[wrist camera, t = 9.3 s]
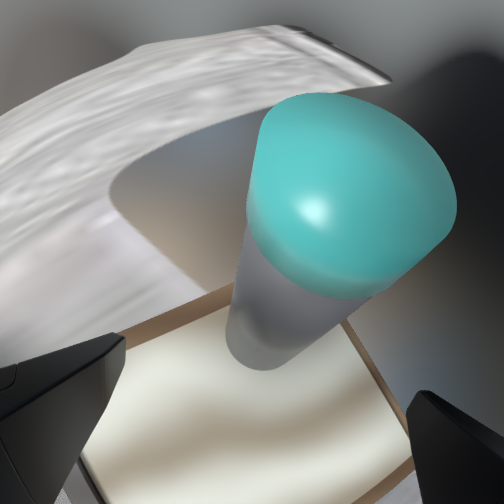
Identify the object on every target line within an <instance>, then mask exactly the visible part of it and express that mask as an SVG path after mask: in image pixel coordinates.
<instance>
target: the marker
mask: <svg viewBox="0 0 504 504" xmlns="http://www.w3.org/2000/svg"><path fill="white" fill-rule="evenodd" d="M456 211H457V201H456V193H455V190H454V185H453V183H452V180H451V178H450V175H449V173H448V171H447V169H446V167H445V165H444V164H443V162H442V160H441V159H440V157H439V156H438V154H437V153H436V152H435V151H434V149H433V148H432V147H431V146H430V145H429V143H428V142H427V141H426V140H425V139H424V138H423V137H422V136H421V135H420V134H419V133H418V132H416V131H415V130H414V129H413V128H411V127H410V126H409V125H408V124H406V123H405V122H404V121H402V120H401V119H399V118H398V117H396V116H395V115H393V114H391V113H390V112H388V111H386V110H384V109H382V108H380V107H378V106H375V105H373V104H371V103H369V102H366V101H363V100H360V99H357V98H353V97H350V96H345V95H340V94H333V93H306V94H301V95H296V96H293V97H290V98H287V99H285V100H283V101H281V102H280V103H278V104H277V105H275V106H274V107H273V108H272V109H271V110H270V111H269V112H268V113H267V115H266V116H265V118H264V119H263V122H262V124H261V127H260V131H259V136H258V142H257V147H256V153H255V157H254V163H253V168H252V174H251V179H250V185H249V190H248V195H247V203H246V213H247V223H246V228H245V233H244V238H243V243H242V248H241V253H240V259H239V263H238V268H237V273H236V279H235V284H234V289H233V294H232V299H231V304H230V310H229V315H228V320H227V325H226V332H225V334H226V343H227V346H228V348H229V350H230V352H231V354H232V355H233V356H234V358H235V359H236V360H237V361H238V362H240V363H241V364H242V365H244V366H246V367H248V368H251V369H254V370H260V371H268V370H273V369H276V368H278V367H280V366H282V365H284V364H285V363H287V362H288V361H289V360H291V359H292V358H294V357H295V356H296V355H298V354H299V353H301V352H302V351H303V350H305V349H306V348H307V347H309V346H310V345H312V344H313V343H314V342H316V341H317V340H318V339H320V338H321V337H322V336H323V335H325V334H326V333H327V332H329V331H330V330H331V329H333V328H334V327H335V326H336V325H338V324H339V323H340V322H342V321H343V320H344V319H345V318H347V317H348V316H349V315H350V314H351V313H353V312H354V311H355V310H356V309H358V308H359V307H360V306H361V305H363V304H364V303H365V302H366V301H367V300H369V299H370V298H371V297H372V296H373V295H376V294H379V293H381V292H383V291H384V290H386V289H388V288H389V287H390V286H391V285H392V284H394V283H395V282H396V281H397V280H399V279H400V278H401V277H402V276H403V275H404V274H406V273H407V272H408V271H409V270H410V269H411V268H412V267H414V266H415V265H416V264H417V263H418V262H419V261H420V260H421V259H423V258H424V257H425V256H426V255H427V254H428V253H429V252H430V251H431V250H432V249H433V248H434V247H436V246H437V245H438V244H439V243H440V242H441V241H442V240H443V239H444V238H445V237H446V236H447V235H448V233H449V232H450V230H451V229H452V226H453V224H454V222H455V217H456Z"/></svg>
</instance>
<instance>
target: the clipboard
mask: <svg viewBox="0 0 504 504" xmlns="http://www.w3.org/2000/svg"><path fill="white" fill-rule="evenodd" d="M234 284H235V282H234V283H231V284H229V285H227V286H225V287H222V288H220V289H218V290H216V291H213V292H211V293H209V294H207V295H204V296H202V297H200V298H197V299H195V300H193V301H191V302H188V303H186V304H184V305H181V306H179V307H177V308H175V309H172V310H170V311H168V312H165V313H163V314H161V315H158V316H156V317H154V318H151V319H149V320H147V321H144V322H142V323H140V324H137V325H135V326H133V327H130V328H128V329H126V330H123V331H121V332H119V333H117V334H120V335H123V336H125V338H126V360H125V365H124V368H123V370H122V373H121V375H120V377H119V380H118V382H117V384H116V387H115V389H114V391H113V394H112V396H111V399H110V401H109V403H108V405H107V408H106V409H105V411H104V413H103V415H102V417H101V418H100V420H99V422H98V424H97V425H96V427H95V429H94V431H93V432H92V434H91V436H90V438H89V439H88V441H87V443H86V445H85V447H84V448H83V450H82V452H81V454H80V456H79V457H78V459H77V461H76V463H75V465H74V467H73V468H72V470H71V472H70V474H69V476H68V478H67V479H66V481H65V483H64V485H63V489H64V491H65V492H66V494H67V496H68V498H69V500H70V501H71V503H72V504H374V503H375V502H376V501H378V500H379V499H380V498H382V497H383V496H384V495H385V494H387V493H388V492H389V491H390V490H391V489H393V488H394V487H395V486H396V485H397V484H399V483H400V482H401V481H402V480H403V479H404V478H406V477H407V476H408V475H409V474H410V473H411V472H412V471H413V470H414V469H415V466H414V462H413V458H412V453H411V447H410V440H409V433H408V427H407V420H406V417H405V416H404V414H403V412H402V410H401V408H400V407H399V405H398V403H397V402H396V400H395V398H394V396H393V395H392V393H391V391H390V390H389V388H388V386H387V385H386V383H385V381H384V379H383V378H382V376H381V374H380V373H379V371H378V369H377V368H376V366H375V365H374V363H373V361H372V360H371V358H370V356H369V355H368V353H367V351H366V350H365V348H364V346H363V345H362V343H361V342H360V340H359V338H358V337H357V335H356V334H355V332H354V330H353V329H352V327H351V326H350V324H349V322H348V321H347V319H346V318H345V319H344V320H343V321H342V322H340V323H339V324H338V325H336V326H335V327H334V328H333V329H331V330H330V331H329V332H327V333H326V334H325V335H323V336H322V337H321V338H320V339H318V340H317V341H316V342H314V343H313V344H312V345H310V346H309V347H307V348H306V349H305V350H303V351H302V352H301V353H299V354H298V355H296V356H295V357H294V358H292V359H291V360H289V361H288V362H287V363H285V364H284V365H282V366H280V367H278V368H276V369H273V370H268V371H260V370H254V369H251V368H248V367H246V366H244V365H242V364H241V363H240V362H238V361H237V360H236V359H235V358H234V356H233V355H232V354H231V352H230V350H229V348H228V346H227V343H226V334H225V332H226V325H227V320H228V315H229V310H230V304H231V299H232V294H233V289H234Z"/></svg>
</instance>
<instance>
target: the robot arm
mask: <svg viewBox="0 0 504 504" xmlns="http://www.w3.org/2000/svg"><path fill="white" fill-rule="evenodd" d="M125 360H126V338H125V336H123V335H120V334H117V333H114V332H112V333H108V334H105V335H102V336H100V337H97V338H94V339H91V340H88V341H85V342H82V343H79V344H76V345H73V346H70V347H67V348H63V349H60V350H57V351H54V352H51V353H48V354H45V355H42V356H39V357H36V358H32V359H29V360H26V361H23V362H20V363H18V364H13V365H10V366H7V367H3V368H0V504H54V502H55V500H56V498H57V497H58V495H59V493H60V491H61V489H62V487H63V485H64V483H65V481H66V479H67V478H68V476H69V474H70V472H71V470H72V468H73V467H74V465H75V463H76V461H77V459H78V457H79V456H80V454H81V452H82V450H83V448H84V447H85V445H86V443H87V441H88V439H89V438H90V436H91V434H92V432H93V431H94V429H95V427H96V425H97V424H98V422H99V420H100V418H101V417H102V415H103V413H104V411H105V409H106V408H107V405H108V403H109V401H110V399H111V396H112V394H113V391H114V389H115V387H116V384H117V382H118V380H119V377H120V375H121V373H122V370H123V368H124V365H125ZM406 420H407V427H408V433H409V440H410V447H411V453H412V458H413V462H414V466H415V470H416V475H417V479H418V483H419V488H420V493H421V498H422V503H423V504H504V437H502V436H500V435H499V434H497V433H496V432H494V431H493V430H491V429H489V428H488V427H486V426H485V425H483V424H481V423H480V422H478V421H477V420H475V419H474V418H472V417H470V416H469V415H467V414H466V413H464V412H463V411H461V410H459V409H458V408H456V407H455V406H453V405H452V404H450V403H449V402H447V401H445V400H444V399H442V398H441V397H439V396H438V395H436V394H435V393H433V392H431V391H429V390H427V391H426V390H420V391H418V392H417V393H416V395H415V397H414V399H413V400H412V402H411V403H410V405H409V407H408V408H407V411H406Z"/></svg>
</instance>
